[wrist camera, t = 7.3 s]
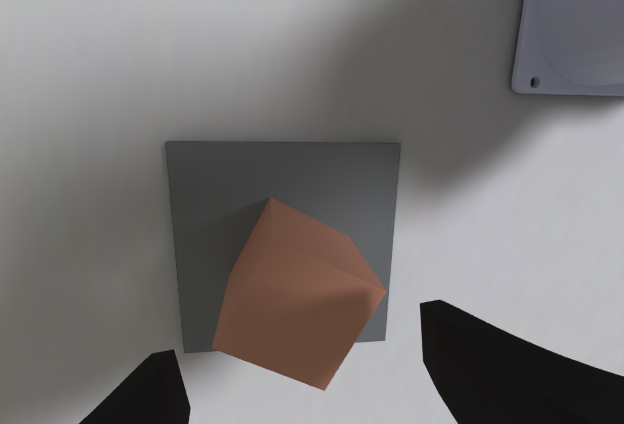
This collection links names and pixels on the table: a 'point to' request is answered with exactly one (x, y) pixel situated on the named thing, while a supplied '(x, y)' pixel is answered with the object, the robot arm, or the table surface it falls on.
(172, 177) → the charcoal mat
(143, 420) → the robot arm
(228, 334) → the brick-red block
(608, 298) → the table surface
